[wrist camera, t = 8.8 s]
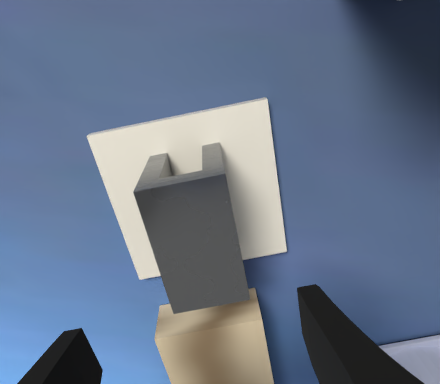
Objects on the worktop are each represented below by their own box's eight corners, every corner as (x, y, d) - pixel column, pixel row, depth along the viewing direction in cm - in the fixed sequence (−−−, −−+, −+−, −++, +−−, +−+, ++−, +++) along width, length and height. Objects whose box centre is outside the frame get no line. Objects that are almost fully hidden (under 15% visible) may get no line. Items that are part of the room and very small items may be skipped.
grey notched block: (219, 142, 18) (225, 173, 14) (239, 245, 21) (250, 299, 17) (150, 156, 18) (133, 192, 14) (179, 256, 21) (173, 314, 17)
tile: (265, 97, 18) (267, 98, 17) (284, 246, 22) (286, 251, 22) (90, 133, 18) (86, 135, 18) (141, 274, 22) (139, 279, 22)
